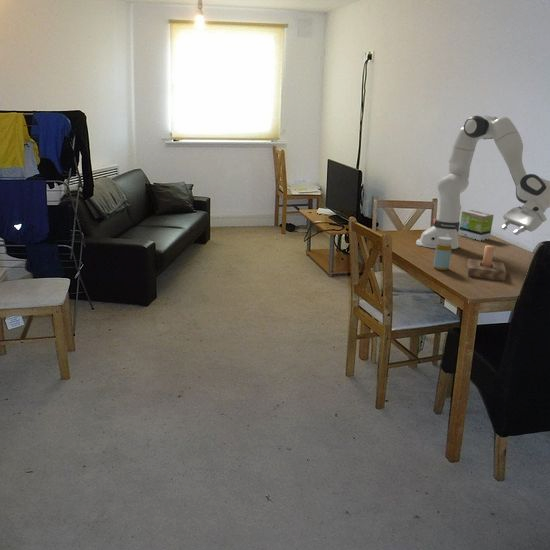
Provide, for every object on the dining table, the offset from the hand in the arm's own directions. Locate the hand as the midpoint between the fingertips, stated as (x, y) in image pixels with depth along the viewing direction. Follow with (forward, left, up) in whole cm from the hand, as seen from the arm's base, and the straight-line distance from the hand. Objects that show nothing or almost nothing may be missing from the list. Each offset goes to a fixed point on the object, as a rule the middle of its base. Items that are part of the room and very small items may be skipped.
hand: (508, 231), depth 259 cm
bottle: (-28, -7, -20) cm, 35 cm away
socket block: (-8, -6, -20) cm, 22 cm away
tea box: (-11, +67, -20) cm, 71 cm away
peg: (-8, -6, -20) cm, 22 cm away
